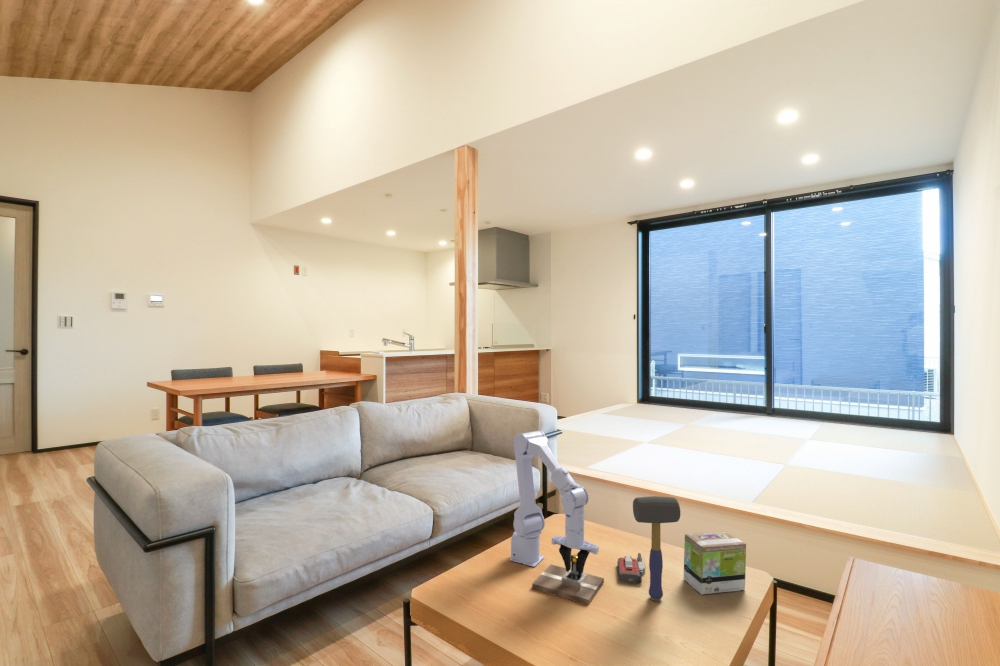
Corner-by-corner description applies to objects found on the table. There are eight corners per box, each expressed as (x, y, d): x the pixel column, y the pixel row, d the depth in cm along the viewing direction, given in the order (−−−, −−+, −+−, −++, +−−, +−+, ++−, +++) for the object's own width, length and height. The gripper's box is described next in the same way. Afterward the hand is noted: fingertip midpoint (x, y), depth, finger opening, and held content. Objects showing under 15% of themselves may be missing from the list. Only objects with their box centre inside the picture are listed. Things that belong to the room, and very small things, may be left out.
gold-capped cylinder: (568, 581, 149) (569, 556, 150) (572, 578, 152) (572, 553, 152) (577, 584, 148) (578, 559, 148) (580, 580, 150) (581, 555, 151)
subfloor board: (532, 588, 149) (532, 583, 149) (550, 568, 161) (550, 564, 161) (588, 605, 140) (588, 599, 140) (603, 583, 152) (603, 577, 152)
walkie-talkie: (648, 587, 150) (642, 558, 170) (648, 573, 150) (642, 545, 170) (618, 584, 152) (616, 555, 171) (618, 570, 152) (616, 543, 171)
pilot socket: (561, 584, 148) (561, 577, 148) (569, 575, 153) (569, 569, 153) (580, 589, 145) (580, 583, 145) (587, 580, 150) (587, 574, 150)
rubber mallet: (672, 591, 147) (672, 492, 147) (681, 605, 140) (682, 501, 139) (631, 592, 147) (631, 492, 147) (638, 606, 139) (639, 501, 139)
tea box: (702, 596, 144) (702, 546, 144) (682, 579, 154) (683, 533, 154) (746, 591, 148) (746, 542, 147) (724, 574, 157) (725, 529, 157)
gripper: (601, 527, 149) (601, 572, 149) (557, 518, 156) (557, 560, 156) (594, 536, 143) (594, 582, 143) (548, 526, 150) (548, 570, 150)
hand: (574, 571), depth 149 cm, fingers open, 3 cm apart
